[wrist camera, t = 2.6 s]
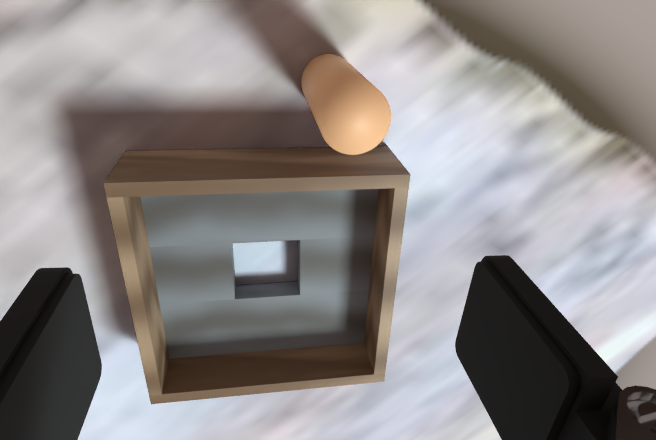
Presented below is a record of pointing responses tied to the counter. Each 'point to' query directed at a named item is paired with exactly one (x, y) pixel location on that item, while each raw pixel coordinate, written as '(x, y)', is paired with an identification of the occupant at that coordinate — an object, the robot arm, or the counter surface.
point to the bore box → (258, 299)
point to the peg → (345, 105)
